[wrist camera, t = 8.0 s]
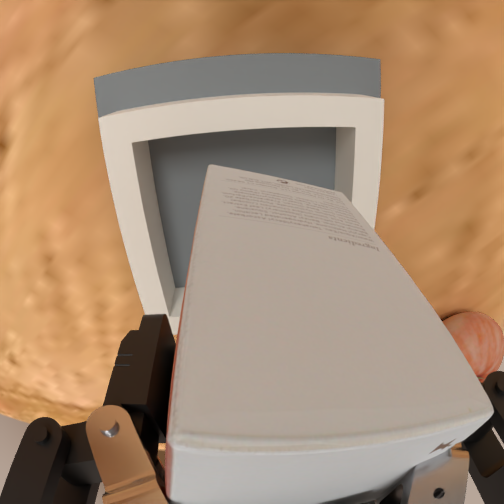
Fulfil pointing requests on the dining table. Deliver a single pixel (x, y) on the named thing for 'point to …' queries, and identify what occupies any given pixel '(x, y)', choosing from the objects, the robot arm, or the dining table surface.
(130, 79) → the socket board
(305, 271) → the small box
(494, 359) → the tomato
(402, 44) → the dining table surface
